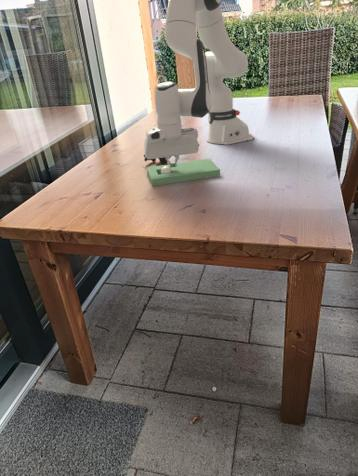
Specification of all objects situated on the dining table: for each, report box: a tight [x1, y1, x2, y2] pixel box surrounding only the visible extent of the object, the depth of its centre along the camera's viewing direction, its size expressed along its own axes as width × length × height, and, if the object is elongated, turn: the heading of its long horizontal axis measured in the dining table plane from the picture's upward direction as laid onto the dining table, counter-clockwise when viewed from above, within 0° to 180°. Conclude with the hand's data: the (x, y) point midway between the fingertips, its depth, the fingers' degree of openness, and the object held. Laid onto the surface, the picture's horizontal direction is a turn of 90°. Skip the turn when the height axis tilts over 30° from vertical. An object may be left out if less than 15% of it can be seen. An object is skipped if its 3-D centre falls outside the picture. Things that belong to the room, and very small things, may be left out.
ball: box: [161, 166, 171, 174], centre depth 144 cm, size 4×4×4 cm
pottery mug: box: [143, 154, 172, 166], centre depth 158 cm, size 12×10×8 cm
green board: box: [146, 158, 221, 187], centre depth 146 cm, size 26×14×2 cm, turn 102°
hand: (172, 166), depth 144 cm, fingers closed
